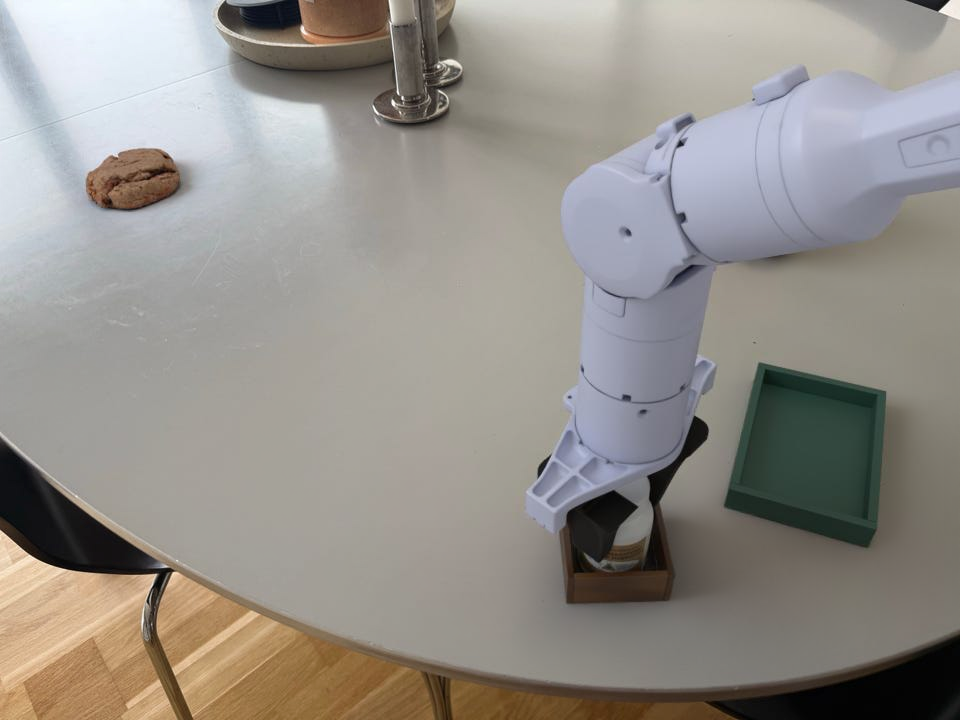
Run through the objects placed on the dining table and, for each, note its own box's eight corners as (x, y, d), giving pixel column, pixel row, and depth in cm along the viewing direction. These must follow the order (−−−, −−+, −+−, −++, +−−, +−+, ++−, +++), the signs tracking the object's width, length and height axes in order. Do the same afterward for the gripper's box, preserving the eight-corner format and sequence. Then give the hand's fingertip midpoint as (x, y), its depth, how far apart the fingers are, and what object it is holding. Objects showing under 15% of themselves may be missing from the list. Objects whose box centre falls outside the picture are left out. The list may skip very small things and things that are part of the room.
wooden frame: (652, 516, 55) (657, 490, 53) (669, 601, 50) (675, 575, 49) (557, 519, 55) (559, 493, 53) (566, 603, 51) (567, 578, 49)
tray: (868, 548, 53) (877, 529, 51) (723, 506, 55) (728, 488, 54) (878, 409, 62) (886, 390, 60) (753, 380, 64) (758, 361, 63)
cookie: (184, 157, 95) (177, 133, 92) (180, 204, 87) (172, 179, 85) (95, 169, 93) (85, 145, 91) (83, 218, 85) (72, 193, 83)
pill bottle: (574, 583, 52) (579, 509, 46) (579, 526, 55) (585, 450, 49) (644, 592, 51) (658, 517, 46) (646, 534, 54) (659, 458, 49)
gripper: (655, 268, 47) (633, 428, 56) (479, 401, 40) (487, 560, 49) (765, 320, 43) (723, 483, 52) (593, 478, 36) (579, 635, 45)
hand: (615, 524), depth 50 cm, fingers closed on pill bottle, 4 cm apart
